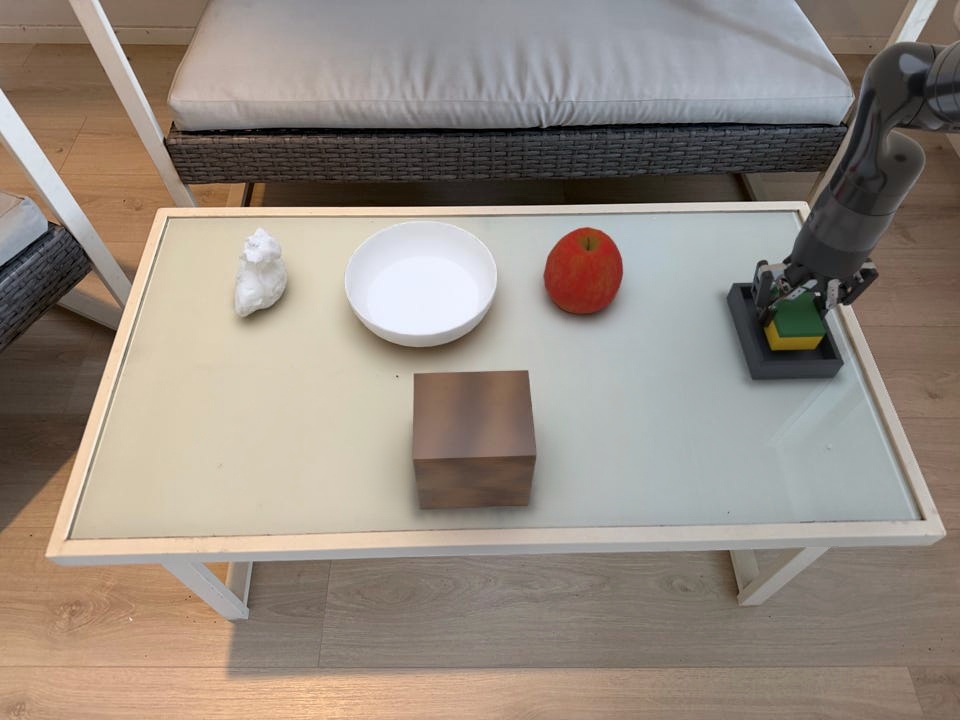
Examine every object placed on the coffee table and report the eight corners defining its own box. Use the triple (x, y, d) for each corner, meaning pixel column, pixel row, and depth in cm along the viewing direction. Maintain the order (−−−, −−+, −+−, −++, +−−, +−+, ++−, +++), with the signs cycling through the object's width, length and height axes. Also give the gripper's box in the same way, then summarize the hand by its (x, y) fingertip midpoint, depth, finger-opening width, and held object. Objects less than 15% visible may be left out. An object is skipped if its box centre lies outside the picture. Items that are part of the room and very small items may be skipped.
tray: (833, 377, 88) (844, 363, 85) (752, 379, 87) (760, 365, 85) (801, 295, 95) (810, 280, 93) (726, 297, 95) (733, 282, 92)
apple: (601, 259, 99) (614, 203, 90) (628, 314, 93) (645, 260, 84) (532, 272, 97) (538, 216, 88) (555, 329, 91) (564, 275, 83)
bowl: (510, 352, 89) (512, 323, 84) (357, 375, 87) (350, 346, 82) (481, 244, 100) (482, 212, 95) (345, 261, 98) (338, 229, 93)
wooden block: (521, 426, 83) (528, 369, 73) (528, 505, 77) (536, 455, 67) (420, 429, 83) (413, 373, 73) (419, 509, 77) (412, 459, 67)
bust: (260, 337, 93) (298, 297, 85) (204, 312, 89) (239, 268, 82) (281, 270, 100) (318, 228, 92) (231, 245, 96) (265, 198, 88)
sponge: (814, 349, 87) (826, 332, 84) (771, 350, 87) (781, 333, 84) (795, 300, 92) (805, 282, 89) (754, 301, 92) (763, 283, 89)
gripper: (789, 251, 73) (738, 347, 86) (924, 248, 73) (851, 343, 87) (769, 201, 77) (723, 300, 91) (896, 199, 77) (831, 297, 91)
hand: (786, 321), depth 89 cm, fingers closed on sponge, 5 cm apart
